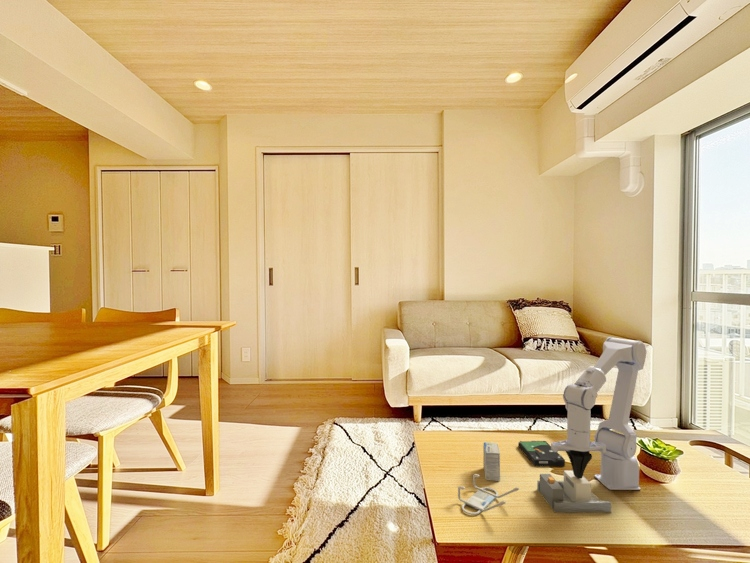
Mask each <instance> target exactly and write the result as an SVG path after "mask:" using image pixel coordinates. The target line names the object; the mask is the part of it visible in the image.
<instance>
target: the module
mask: <svg viewBox="0 0 750 563" xmlns="http://www.w3.org/2000/svg"><path fill="white" fill-rule="evenodd" d="M563 481H564V484H563V489H564V492H565V493H566V494H567V496H568V497H569V498H570V499H571V500H572V501H591V492H592V488H591V487H592V483H591V482H590V481H589V480H588V479H587V478H586V477H585V476H584V475H583V477H582V478H576V477H575V476H574V473H573V470H563Z"/></svg>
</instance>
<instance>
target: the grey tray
mask: <svg viewBox="0 0 750 563" xmlns="http://www.w3.org/2000/svg"><path fill="white" fill-rule="evenodd" d="M556 481H557V482H558V483H559V485H560V486H561V487H562V488H563V484H564V480H556ZM536 484H537V486H536V488H537V489H536V490H537V491H538V492H539V493H540V495H541V496H542V497H543V499H544V500H545V501H546V503H547V504H548V505H549V507H550V509H552V510H553V513H559V514H560V513H561V514H562V513H565V514H566V513H569V514H570V513H571V514H574V513H576V514H577V513H579V514H580V513H582V514H583V513H584V514H585V513H588V514H589V513H590V514H591V513H593V514H594V513H599V514H601V513H602V514H603V513H606V514H608V513H609V514H610V513H611V514H612V502H611V501H609V500H602V501H601V500H600V498H598V496H596V495H595V494H594V492H592V491H591V501H572V500H571V499H570V498H569V497H568V496H567V494H566V493H565V492H564V497H563V501H554V507H552V506H551V505H550V504H549V503H548V501H547V500H546V499H545V497H544V496H543V495H542V493H541V492H540V480H537V483H536Z"/></svg>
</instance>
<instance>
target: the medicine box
mask: <svg viewBox="0 0 750 563" xmlns="http://www.w3.org/2000/svg"><path fill="white" fill-rule="evenodd" d="M482 447H483V461H482V463H483V471H484V472H483V473H484V479H485V480H486V481H491V482H492V481H495V482H500V481H501V455H500V449H499V446H498V443H496V442H490V441H489V442H483V446H482Z"/></svg>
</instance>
